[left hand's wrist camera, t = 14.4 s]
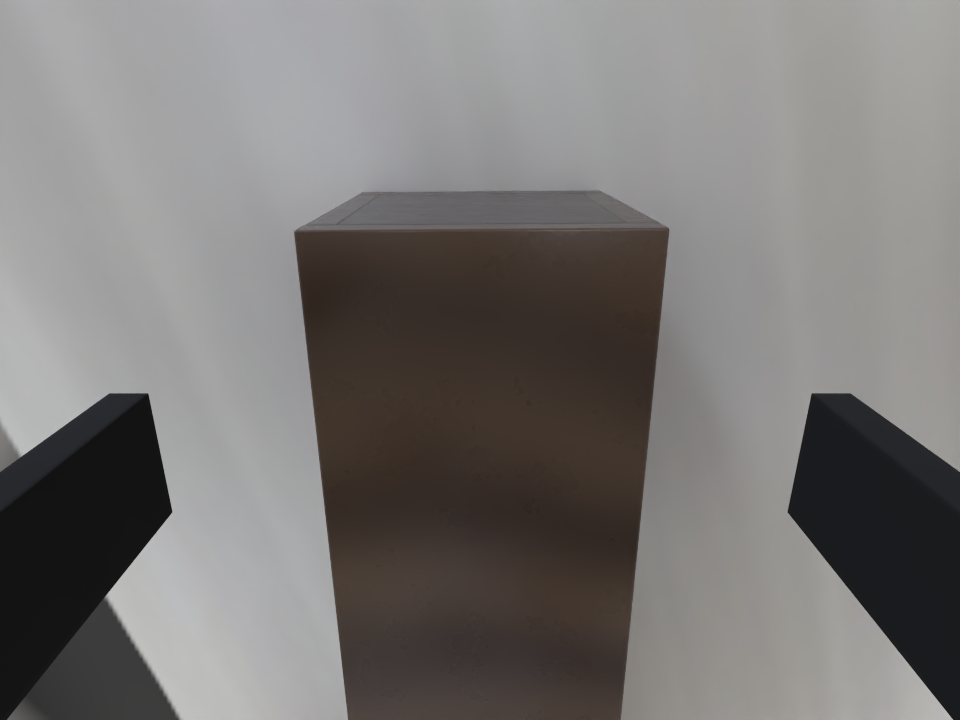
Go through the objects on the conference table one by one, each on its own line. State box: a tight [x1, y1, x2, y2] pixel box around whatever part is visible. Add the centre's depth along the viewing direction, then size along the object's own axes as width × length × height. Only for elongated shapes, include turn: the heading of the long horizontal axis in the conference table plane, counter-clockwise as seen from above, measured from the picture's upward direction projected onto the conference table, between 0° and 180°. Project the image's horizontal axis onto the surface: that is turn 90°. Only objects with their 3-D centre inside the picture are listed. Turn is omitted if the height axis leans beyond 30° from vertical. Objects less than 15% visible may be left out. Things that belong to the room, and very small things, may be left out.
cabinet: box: [294, 191, 669, 720], centre depth 25 cm, size 19×10×10 cm, turn 0°
